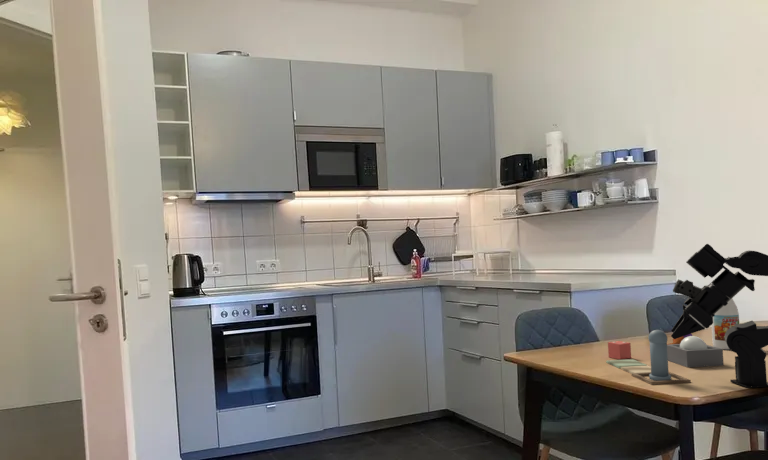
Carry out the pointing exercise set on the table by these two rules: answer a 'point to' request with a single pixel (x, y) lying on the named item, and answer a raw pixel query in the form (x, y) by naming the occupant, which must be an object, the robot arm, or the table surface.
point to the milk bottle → (724, 324)
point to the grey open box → (695, 356)
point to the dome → (693, 343)
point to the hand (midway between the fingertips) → (672, 334)
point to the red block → (619, 350)
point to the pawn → (658, 356)
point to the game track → (643, 371)
